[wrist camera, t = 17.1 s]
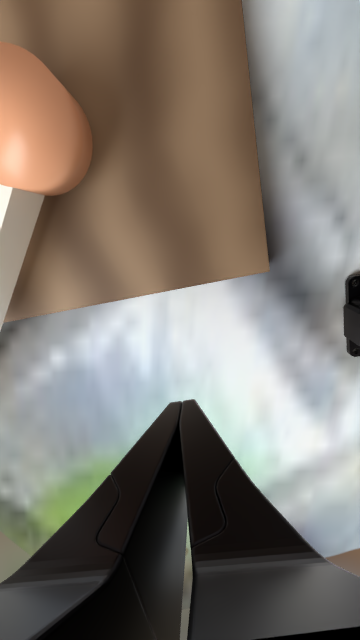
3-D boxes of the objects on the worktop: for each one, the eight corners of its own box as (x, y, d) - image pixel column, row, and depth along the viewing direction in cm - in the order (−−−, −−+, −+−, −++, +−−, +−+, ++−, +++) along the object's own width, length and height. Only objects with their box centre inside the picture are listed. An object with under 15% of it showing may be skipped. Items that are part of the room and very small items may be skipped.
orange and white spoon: (9, 56, 14) (-38, 11, 11) (108, 114, 15) (87, 86, 12) (-56, 314, 19) (-101, 329, 16) (21, 350, 19) (-8, 371, 16)
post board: (223, -108, 14) (231, -199, 11) (264, 268, 20) (277, 274, 17) (-165, 23, 17) (-244, -23, 14) (-28, 325, 23) (-62, 339, 20)
